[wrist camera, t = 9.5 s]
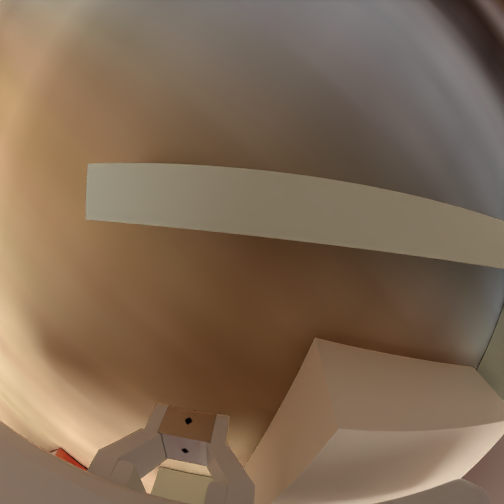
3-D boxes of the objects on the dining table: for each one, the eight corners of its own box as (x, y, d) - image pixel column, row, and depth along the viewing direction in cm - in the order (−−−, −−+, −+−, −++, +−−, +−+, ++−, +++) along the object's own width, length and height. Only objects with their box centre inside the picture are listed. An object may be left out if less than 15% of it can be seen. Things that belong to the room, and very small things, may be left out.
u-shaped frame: (135, 166, 9) (87, 163, 6) (534, 234, 9) (572, 247, 6) (162, 476, 14) (152, 508, 11) (416, 476, 13) (426, 502, 10)
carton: (313, 333, 11) (338, 428, 6) (470, 364, 11) (516, 418, 6) (244, 463, 13) (237, 531, 8) (382, 472, 13) (397, 524, 8)
